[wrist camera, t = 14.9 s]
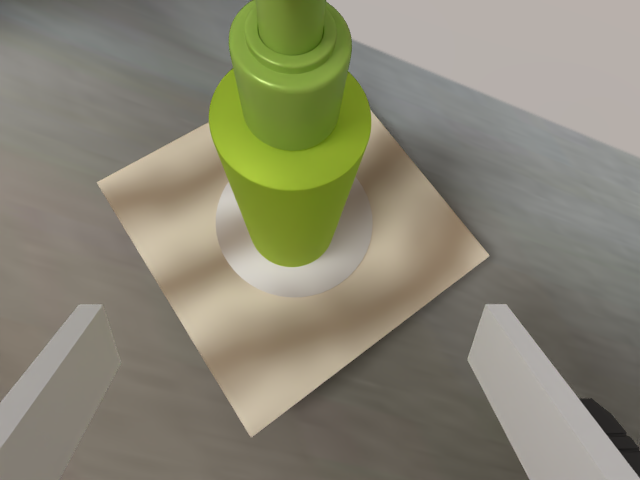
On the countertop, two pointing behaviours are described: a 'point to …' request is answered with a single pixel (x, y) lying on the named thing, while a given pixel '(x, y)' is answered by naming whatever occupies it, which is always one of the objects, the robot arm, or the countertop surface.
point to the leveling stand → (288, 268)
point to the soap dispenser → (290, 125)
